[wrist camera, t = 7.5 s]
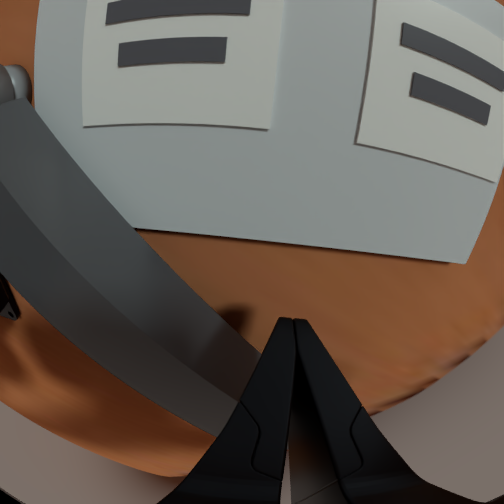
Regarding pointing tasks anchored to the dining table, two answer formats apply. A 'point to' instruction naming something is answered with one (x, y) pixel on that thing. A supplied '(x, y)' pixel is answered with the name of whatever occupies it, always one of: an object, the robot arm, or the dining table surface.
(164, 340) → the bar
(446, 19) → the label board
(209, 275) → the dining table surface
